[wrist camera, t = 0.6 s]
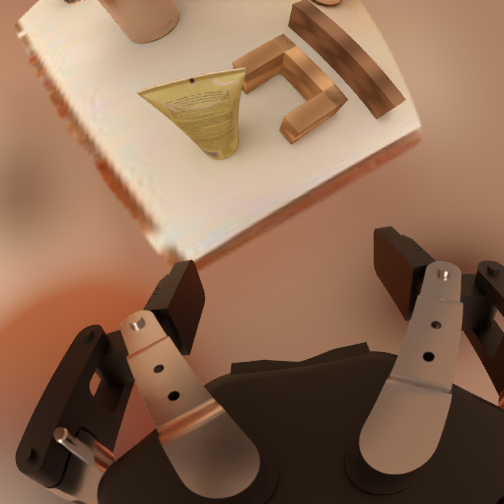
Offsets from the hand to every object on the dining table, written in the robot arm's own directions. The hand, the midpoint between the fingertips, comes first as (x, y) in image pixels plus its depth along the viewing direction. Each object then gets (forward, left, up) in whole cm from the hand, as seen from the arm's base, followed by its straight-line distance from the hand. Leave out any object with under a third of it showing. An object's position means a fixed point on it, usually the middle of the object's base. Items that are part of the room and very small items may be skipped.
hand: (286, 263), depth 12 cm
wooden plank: (-12, +24, -25) cm, 36 cm away
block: (-12, +14, -25) cm, 31 cm away
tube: (-12, +3, -25) cm, 28 cm away
